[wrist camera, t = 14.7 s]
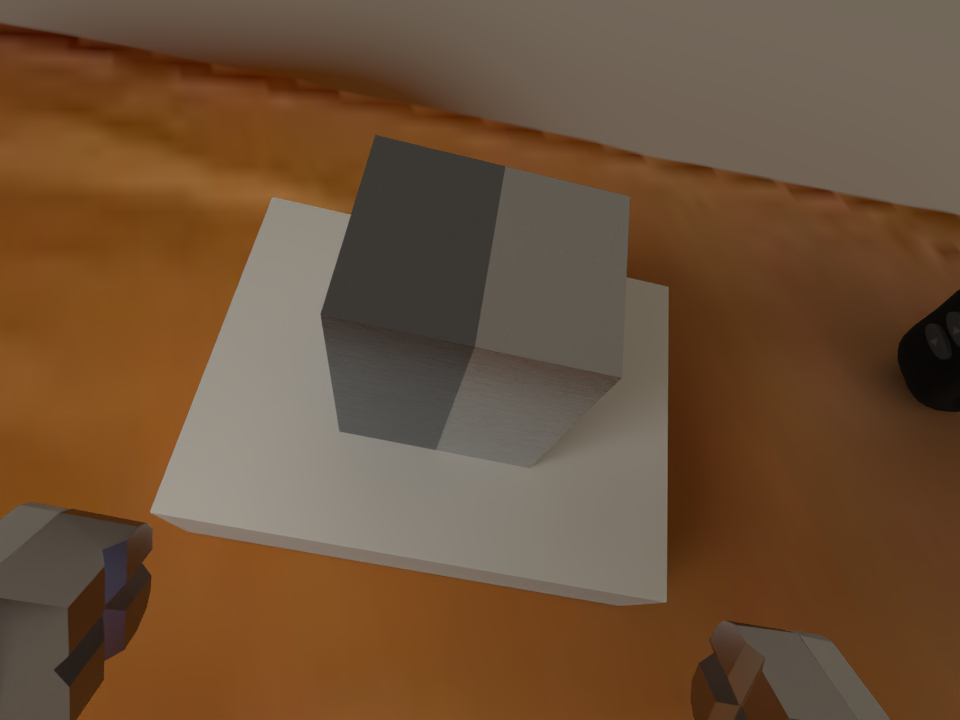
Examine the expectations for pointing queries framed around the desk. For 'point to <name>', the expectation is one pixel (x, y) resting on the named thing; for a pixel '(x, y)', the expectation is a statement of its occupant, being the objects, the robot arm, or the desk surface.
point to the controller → (934, 357)
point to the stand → (415, 451)
